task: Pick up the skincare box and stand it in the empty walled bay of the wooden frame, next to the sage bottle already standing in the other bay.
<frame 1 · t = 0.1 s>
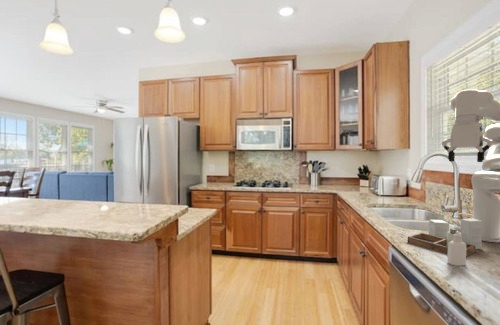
hand: (465, 161, 109), 37 cm above the worktop, tool pointing down, fingers open, 9 cm apart
skincare box 2: (438, 236, 126), on the worktop
wooden frame: (439, 246, 112), on the worktop
sage bottle: (453, 250, 107), resting in wooden frame
skincare box: (470, 248, 111), on the worktop
eye dropper bottle: (456, 264, 95), on the worktop
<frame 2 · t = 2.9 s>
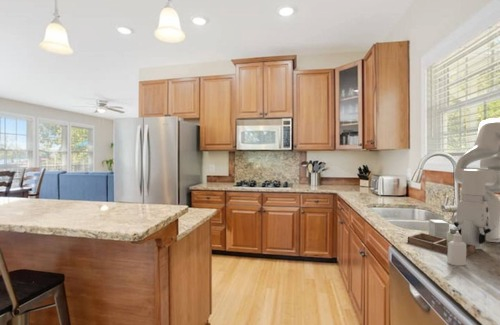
hand: (471, 240, 110), 3 cm above the worktop, tool pointing down, fingers open, 6 cm apart
skincare box: (470, 248, 110), on the worktop, touching gripper
everything else where it was.
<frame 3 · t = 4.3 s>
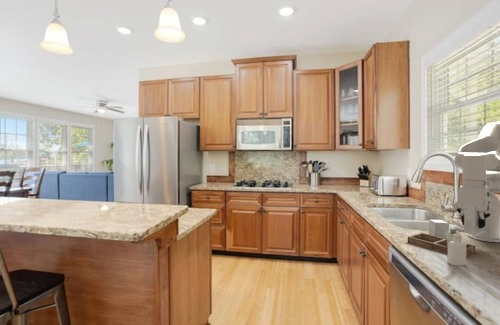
hand: (473, 225, 110), 9 cm above the worktop, tool pointing down, fingers closed on skincare box, 5 cm apart
skincare box: (473, 233, 111), point 6 cm above the worktop, touching gripper
everything else where it was.
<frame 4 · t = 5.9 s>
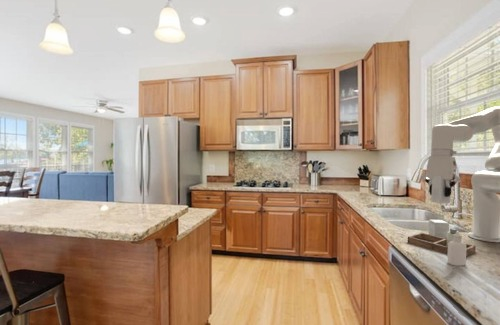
hand: (439, 195, 113), 22 cm above the worktop, tool pointing down, fingers closed on skincare box, 5 cm apart
skincare box: (440, 202, 113), point 18 cm above the worktop, touching gripper
everything else where it was.
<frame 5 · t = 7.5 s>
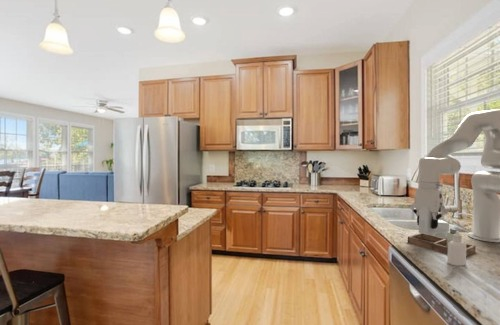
hand: (427, 226, 115), 8 cm above the worktop, tool pointing down, fingers closed on skincare box, 5 cm apart
skincare box: (427, 233, 116), point 4 cm above the worktop, touching gripper
everything else where it was.
when the fingers open (3 cm above the worktop, at t = 8.7 s): skincare box stays where it is, resting in wooden frame.
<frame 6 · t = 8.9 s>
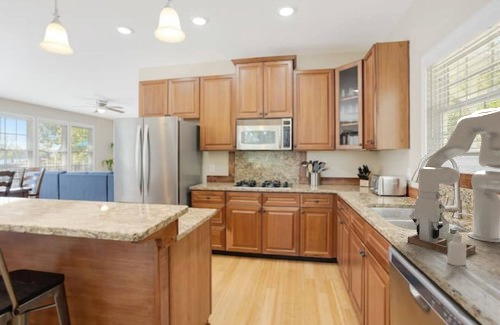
hand: (427, 235, 116), 3 cm above the worktop, tool pointing down, fingers open, 5 cm apart
skincare box: (428, 243, 116), resting in wooden frame
everything else where it was.
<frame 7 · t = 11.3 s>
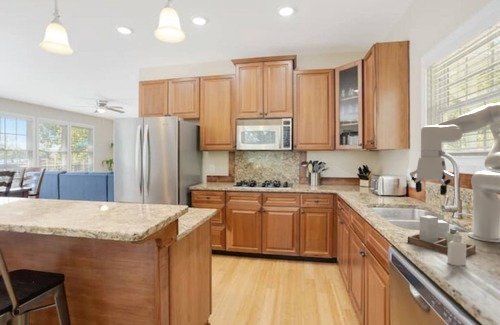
hand: (430, 193, 115), 22 cm above the worktop, tool pointing down, fingers open, 9 cm apart
nothing on the worktop moved.
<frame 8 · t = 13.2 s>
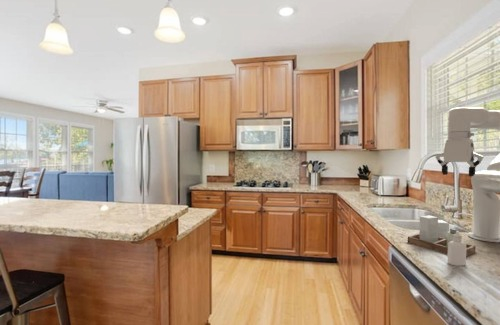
hand: (457, 175, 115), 30 cm above the worktop, tool pointing down, fingers open, 9 cm apart
nothing on the worktop moved.
at the end: skincare box inside the target area (0.7 cm from its centre), resting in wooden frame; skincare box tilted 0°; the gripper is holding nothing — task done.
